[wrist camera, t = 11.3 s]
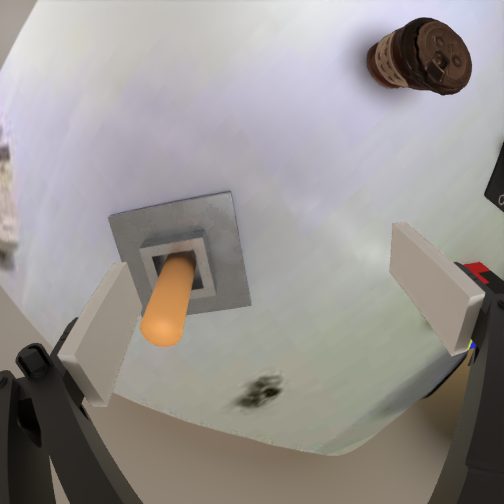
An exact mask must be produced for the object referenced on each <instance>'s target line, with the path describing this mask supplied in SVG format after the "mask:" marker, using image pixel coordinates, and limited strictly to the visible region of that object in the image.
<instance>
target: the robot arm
mask: <svg viewBox="0 0 504 504" xmlns="http://www.w3.org/2000/svg"><path fill="white" fill-rule="evenodd" d="M389 272H390V273H391V275H392V276H393V277H394V278H395V280H396V281H397V282H398V284H399V285H400V286H401V287H402V289H403V290H404V291H405V293H406V294H407V295H408V296H409V298H410V299H411V300H412V302H413V303H414V304H415V306H416V307H417V308H418V310H419V311H420V312H421V314H422V315H423V316H424V318H425V319H426V320H427V322H428V323H429V325H430V326H431V327H432V329H433V330H434V332H435V333H436V334H437V336H438V337H439V339H440V340H441V341H442V343H443V344H444V346H445V347H446V349H447V350H448V352H449V353H450V354H451V356H454V355H457V354H460V353H463V352H465V351H467V348H468V346H469V343H470V340H472V341H473V342H474V344H475V345H476V346H475V348H474V351H473V354H472V356H471V359H470V361H469V363H468V366H470V365H471V367H470V373H469V378H468V382H467V387H466V392H465V396H464V400H463V404H462V408H461V412H460V416H459V419H458V423H457V426H456V430H455V433H454V436H453V440H452V443H451V446H450V449H449V452H448V455H447V458H446V461H445V463H444V466H443V469H442V471H441V474H440V477H439V479H438V482H437V484H436V487H435V489H434V492H433V494H432V496H431V498H430V500H429V502H428V504H504V294H495V293H494V292H493V291H492V290H491V289H490V288H489V287H487V286H486V285H485V284H484V283H483V282H482V281H481V280H480V279H478V277H477V276H476V275H475V274H473V273H472V272H471V271H470V270H469V269H468V268H467V267H466V266H464V265H462V264H460V263H458V262H454V263H453V262H452V261H451V260H450V259H449V258H448V257H447V256H445V255H444V254H443V253H442V252H441V251H440V250H439V249H437V248H436V247H435V246H434V245H433V244H432V243H431V242H429V241H428V240H427V239H426V238H425V237H423V236H422V235H421V234H420V233H419V232H417V231H416V230H415V229H414V228H413V227H411V226H410V225H409V224H408V223H406V222H400V223H392V241H391V257H390V270H389ZM142 308H143V307H142V304H141V301H140V298H139V296H138V293H137V290H136V287H135V285H134V282H133V279H132V276H131V273H130V270H129V267H128V264H127V262H121V263H114V264H113V265H112V266H111V268H110V269H109V271H108V272H107V274H106V275H105V277H104V278H103V280H102V281H101V283H100V284H99V286H98V288H97V289H96V291H95V292H94V294H93V295H92V297H91V299H90V300H89V302H88V303H87V305H86V307H85V308H84V310H83V311H82V313H81V315H80V316H79V317H77V318H75V319H74V320H73V321H72V322H71V323H69V324H68V326H67V327H66V329H65V331H64V332H63V334H62V336H61V337H60V339H59V340H60V341H58V342H57V344H56V346H55V347H54V349H53V351H52V353H51V354H50V356H49V355H48V353H47V352H46V350H45V348H44V347H43V346H42V344H39V343H33V344H30V345H28V346H26V347H25V348H23V349H22V350H21V351H20V352H19V353H18V355H17V357H16V364H17V365H18V367H19V368H20V369H21V371H22V372H23V374H24V375H25V377H22V378H18V379H16V378H15V377H14V375H13V374H12V373H11V372H10V371H8V370H5V371H1V372H0V504H56V500H55V495H54V489H53V483H52V476H51V469H50V460H49V455H50V458H51V461H52V463H53V466H54V468H55V471H56V473H57V476H58V478H59V480H60V483H61V485H62V487H63V489H64V492H65V494H66V496H67V498H68V500H69V502H70V504H143V503H142V501H141V500H140V499H139V497H138V496H137V494H136V493H135V492H134V490H133V489H132V487H131V486H130V484H129V483H128V481H127V480H126V478H125V477H124V475H123V474H122V472H121V471H120V469H119V468H118V466H117V464H116V463H115V461H114V460H113V458H112V456H111V455H110V453H109V452H108V450H107V448H106V446H105V445H104V443H103V441H102V439H101V438H100V436H99V434H98V432H97V430H96V428H95V427H94V425H93V423H92V421H91V419H90V417H89V415H88V413H87V411H86V409H85V408H84V407H83V405H82V404H81V403H82V400H83V398H84V397H85V398H86V399H87V401H88V402H89V403H90V405H91V406H104V407H107V406H108V403H109V400H110V397H111V394H112V391H113V388H114V385H115V382H116V379H117V376H118V373H119V370H120V367H121V365H122V362H123V359H124V356H125V353H126V351H127V348H128V345H129V342H130V340H131V337H132V334H133V332H134V329H135V326H136V324H137V321H138V319H139V316H140V313H141V311H142Z"/></svg>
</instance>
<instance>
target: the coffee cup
mask: <svg viewBox="0 0 504 504" xmlns="http://www.w3.org/2000/svg"><path fill="white" fill-rule="evenodd" d="M367 65H368V68H369V71H370V73H371V74H372V76H373V77H374V78H375V80H376V81H377V82H378V83H379V84H380V85H383V86H385V87H386V88H388V89H391V88H399V87H403V88H405V87H408V88H412V89H416V90H430V91H433V92H435V93H438V94H440V95H443V96H444V95H450V94H451V95H453V94H455V93H458V92H460V90H461V89H463V87H465V86H466V85H467V83H468V82H469V79H470V76H471V72H472V62H471V57H470V53H469V51H468V49H467V47H466V45H465V43H464V42H463V40H462V39H461V37H460V36H459V35H458V34H456V33H455V32H454V31H453V30H452V29H451V28H450V27H449V26H448V25H446V24H444V23H442V22H440V21H438V20H435V19H432V18H425V17H423V18H417V19H415V20H413V21H411V22H409V23H408V24H406V25H405V26H404V27H402V28H400V29H397V30H395V31H394V32H392V33H391V34H389V35H387V36H385V37H384V38H383V39H382V40H381V41H380V42H378V43H376V44H375V45H374V46H373V47H372V48H371V49H370V50H369V52H368V55H367Z"/></svg>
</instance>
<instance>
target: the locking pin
mask: <svg viewBox="0 0 504 504" xmlns="http://www.w3.org/2000/svg"><path fill="white" fill-rule="evenodd" d="M195 269H196V260H195V258H194V256H193V255H192V254H191V253H190V252H188V251H182V252H176V253H170V254H169V255H168V257H167V259H166V261H165V263H164V266H163V268H162V271H161V273H160V276H159V278H158V281H157V283H156V285H155V288H154V290H153V293H152V296H151V298H150V301H149V303H148V306H147V308H146V311H145V314H144V316H143V319H142V321H141V325H140V329H141V332H142V335H143V336H144V337H145V339H146V340H148V341H149V342H150V343H152V344H154V345H157V346H161V347H169V346H173V345H175V344H177V343H178V342H179V341H180V339H181V337H182V333H183V327H184V322H185V317H186V312H187V307H188V302H189V298H190V293H191V288H192V283H193V279H194V274H195Z"/></svg>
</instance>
